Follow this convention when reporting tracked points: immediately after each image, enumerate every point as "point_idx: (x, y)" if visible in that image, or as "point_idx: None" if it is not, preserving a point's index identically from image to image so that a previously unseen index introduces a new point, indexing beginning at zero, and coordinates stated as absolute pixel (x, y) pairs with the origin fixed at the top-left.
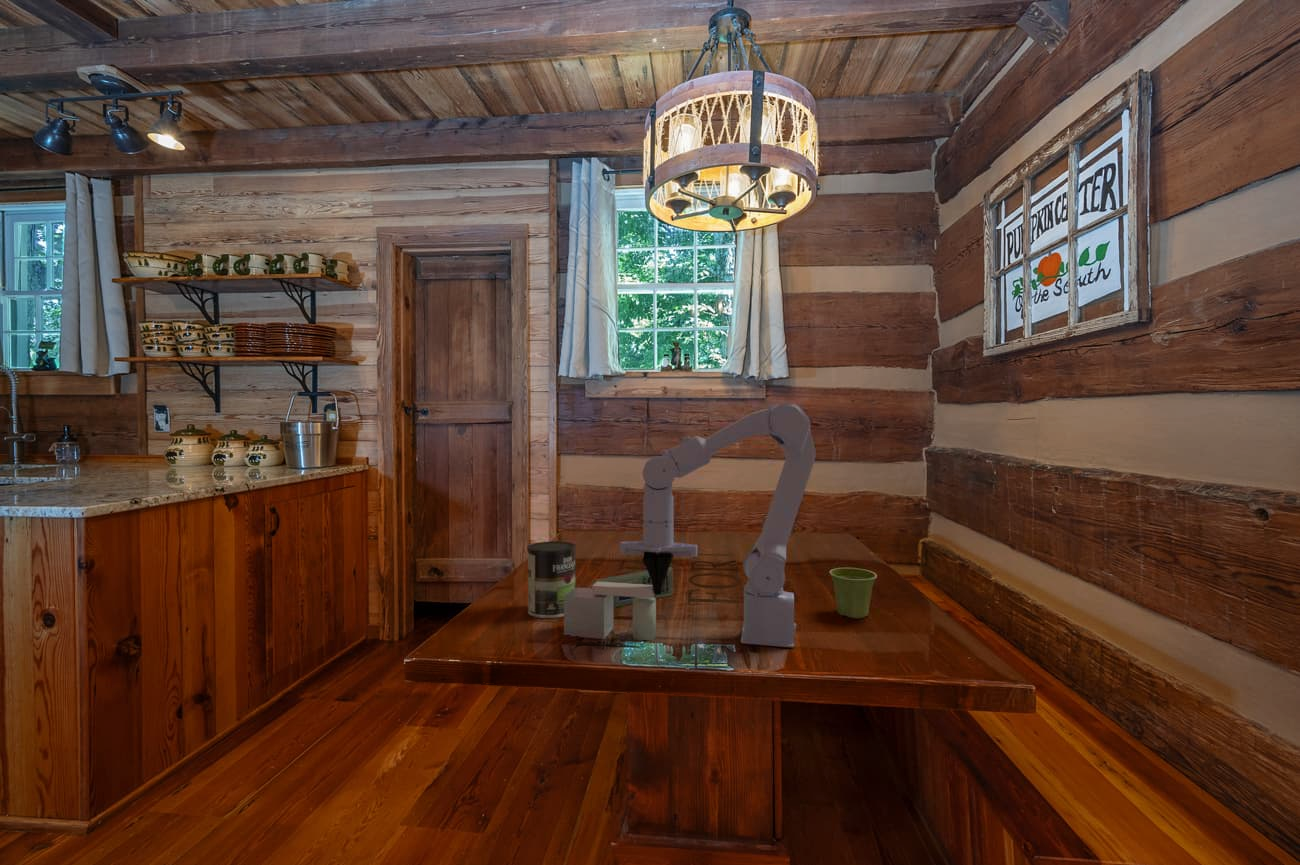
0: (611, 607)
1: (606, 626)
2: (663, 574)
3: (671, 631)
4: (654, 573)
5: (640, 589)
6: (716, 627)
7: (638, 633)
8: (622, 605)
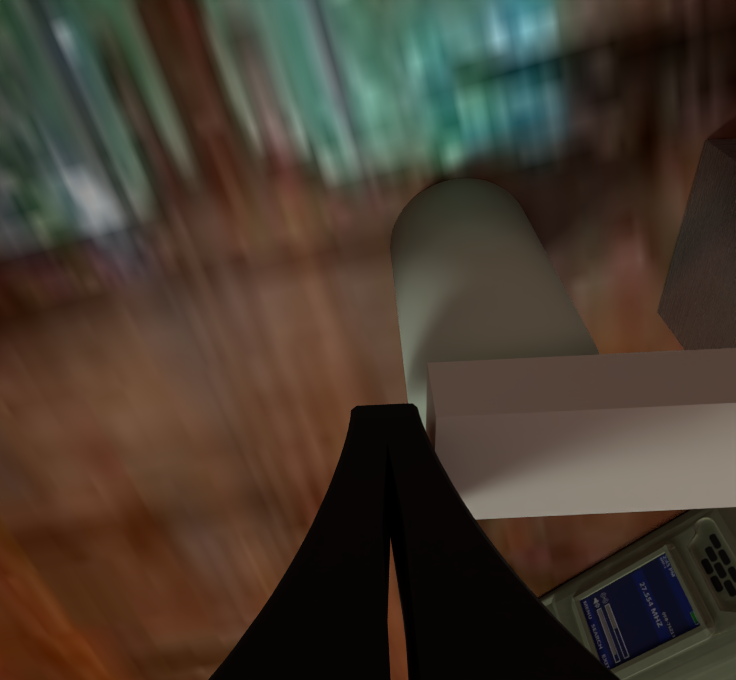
0: None
1: (721, 214)
2: (301, 558)
3: (326, 343)
4: (422, 558)
5: (554, 406)
6: (125, 437)
7: (490, 197)
8: (634, 545)
